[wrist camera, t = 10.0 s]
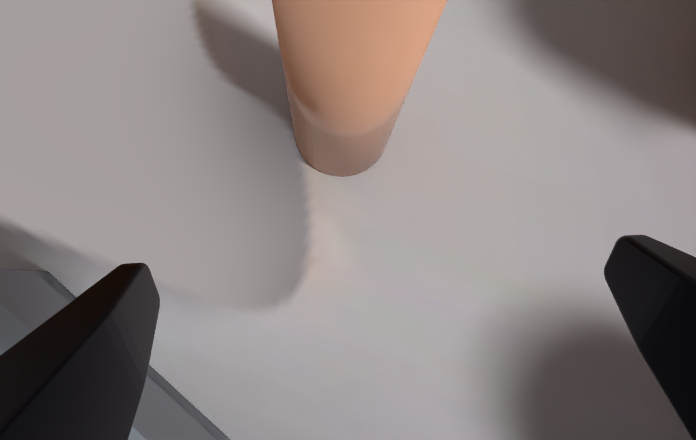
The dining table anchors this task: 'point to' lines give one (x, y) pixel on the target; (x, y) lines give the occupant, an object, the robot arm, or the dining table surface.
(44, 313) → the tote
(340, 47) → the cylinder
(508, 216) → the dining table surface
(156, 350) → the dining table surface
